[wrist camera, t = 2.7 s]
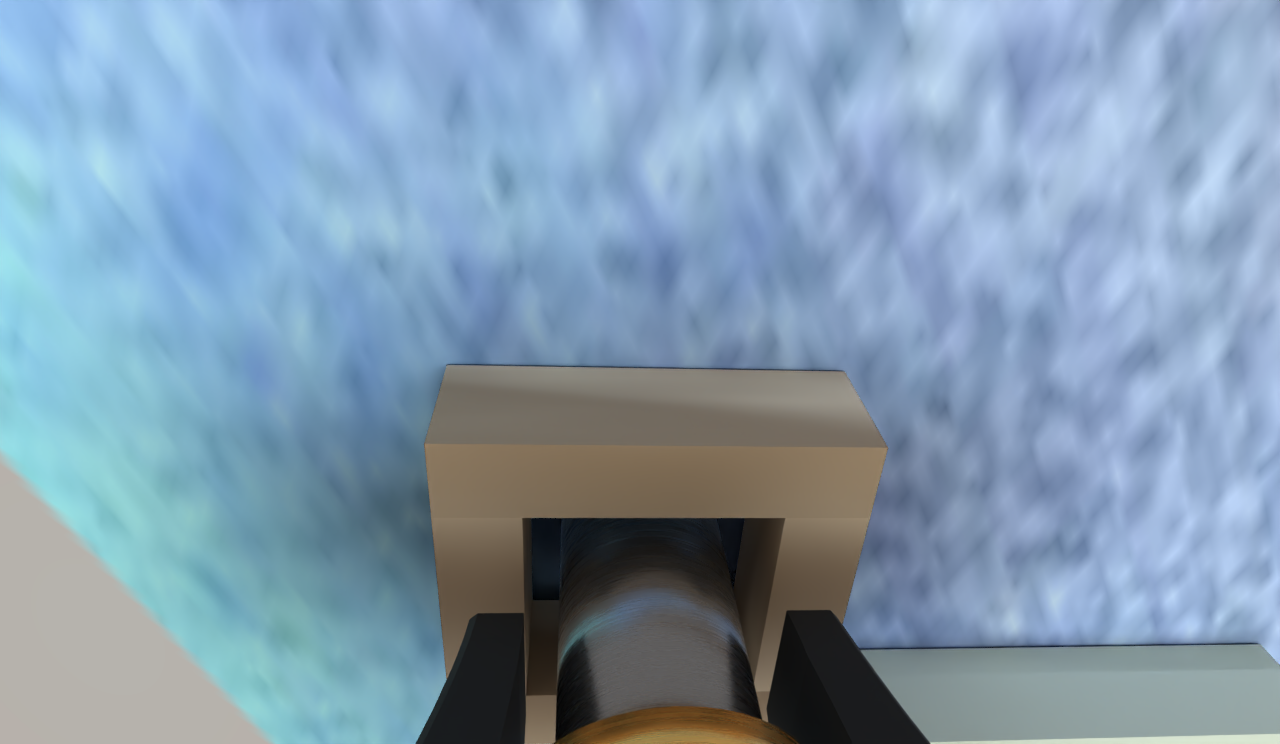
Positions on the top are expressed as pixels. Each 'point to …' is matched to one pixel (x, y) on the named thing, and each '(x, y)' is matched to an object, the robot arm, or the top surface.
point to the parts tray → (1087, 694)
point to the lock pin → (652, 637)
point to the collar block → (647, 489)
